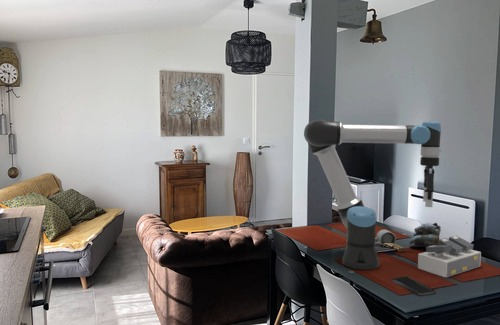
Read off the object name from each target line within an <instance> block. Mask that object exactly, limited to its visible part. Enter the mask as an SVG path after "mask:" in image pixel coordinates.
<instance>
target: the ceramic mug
mask: <svg viewBox="0 0 500 325" xmlns="http://www.w3.org/2000/svg"><path fill="white" fill-rule="evenodd" d="M375 241H377V242H375V244H379V245H381V246H382V245H383V244H382V243H393V244H394V245H396V241H397V237H396V235H395V233H393V232H392V231H389V230H387V229H381V230H379V231H378V232H377V233H376V239H375Z"/></svg>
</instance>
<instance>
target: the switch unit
mask: <svg viewBox="0 0 500 325" xmlns="http://www.w3.org/2000/svg"><path fill="white" fill-rule="evenodd" d="M417 255H418V257H417V269H419V270H422V271H425V272H427V273H430V274H434V275H437V276H439V277H443V278H449V277H452V276H455V275H457V274H458V275H459V274H461V273H464V272H467V271H470V270H474V269H477V268H479V267H481V261H482V260H481V259H482V252H481V251H478V250H474V249H471V250H468V251H464V250H463V251H462V252H461V253H457V254H454V253H452V252H450V251H447V252H427V251H424V252H421V253H418V254H417Z"/></svg>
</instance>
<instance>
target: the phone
mask: <svg viewBox="0 0 500 325" xmlns="http://www.w3.org/2000/svg"><path fill="white" fill-rule="evenodd" d="M391 282H393V283H394V284H396V285H398V286H400V287H402V288H403V289H404V290H407V291H409V292H411V293H412V294H413V295H416V296H418V297H423V296H424V297H425V296H430V295H435V294H436V293H437V290H435V289H434V288H432V287H430V286H428V285H426V284H425V283H422V282H420V281H418V280H416V279H414V278H412V277H410V276H406V275H404V276H398V277H392V278H391Z"/></svg>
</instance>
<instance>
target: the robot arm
mask: <svg viewBox="0 0 500 325" xmlns="http://www.w3.org/2000/svg"><path fill="white" fill-rule="evenodd" d="M303 131H304V132H303V136H304V140H305V141H306V142H307V144H308V146H309V150H310V151H311V153H312V155H314V156H317V159H318V161H319V162H320V165H321V167H322V169H323V170H322V171H323V172H324V174H325V176H326V178H327V181H328V183H329V185H330V188H331V190H332V192H333V194H334V196H335V199H336V201H337V206H336V210H337V211H338V214H339V216H340V220H341V223H342V224H343V225H344V227H345V228H346V246H345V249H344V252H343V254H342V260H341V261H342V262H341V264H342V265H344V266H345V267H348V268H350V269H354V270H362V271H363V270H364V271H366V270H367V271H368V270H369V271H370V270H375V269H377V268H379V266H380V258H379V256H378V251H377V249H376V246H375V239H376V238H377V233H376V232H377V213H376V211H375V210H374V209H372V208H371V207H366V206H365V205H364V203H363V201H362V198H361V197H359V196H357V195H356V193H355V190H354V188H353V185H352V184H351V182H350V179H349V176H348V174H347V172H346V170H345V167H344V165H343V164H342V163H343V162H341V159H340V157H339V155H338V151H337V150H336V146H340V145H341V144H342V143H346V144H347V143H350V144H353V143H354V144H356V143H357V144H404V145H405V144H407V145H408V144H409V145H412V144H413V145H420V156H421V157H420V161H419V164H420V166H422V167H424V166H425V167H424V170H423V173H424V174H423V176H424V178H423V198H422V201H423V202H424V203H425V204H424V205H425V206H424V207H425V208H433V204H434V203H433V201H434V200H433V199H434V190H435V189H434V188H435V187H434V185H435V184H434V181H435V180H434V178H435V169H434V168H433V167H439V165H440V158H439V157H440V152H442V149H441V147H440V146H441V133H442V127H441V123H440V121H422V123H421V124H418V125H415V124H414V125H413V124H408V125H406V124H405V125H404V124H349V123H347V124H346V123H345V124H344V123H342V122H341V121H331V120H325V119H315V120H312V121H309V122H308V123H307V124H306V126H305V128H304V130H303Z"/></svg>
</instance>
